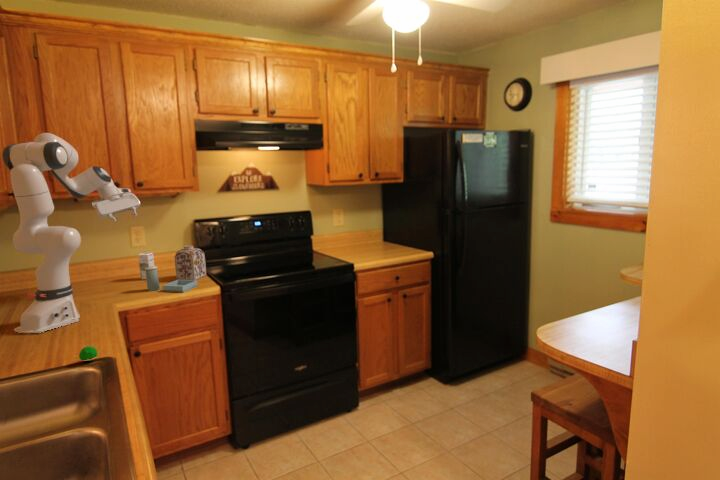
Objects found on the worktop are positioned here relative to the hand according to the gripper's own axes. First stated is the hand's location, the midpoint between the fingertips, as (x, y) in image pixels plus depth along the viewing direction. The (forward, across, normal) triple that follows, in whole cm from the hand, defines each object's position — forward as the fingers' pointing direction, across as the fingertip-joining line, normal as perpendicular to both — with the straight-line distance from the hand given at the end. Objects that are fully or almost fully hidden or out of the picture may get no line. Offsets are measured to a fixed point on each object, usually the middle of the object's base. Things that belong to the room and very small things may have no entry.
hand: (126, 218), depth 220 cm
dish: (+42, +8, +8) cm, 43 cm away
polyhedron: (+65, -56, -43) cm, 96 cm away
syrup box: (+20, +10, +38) cm, 44 cm away
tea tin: (+34, -1, +16) cm, 38 cm away
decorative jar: (+34, +24, +23) cm, 48 cm away
